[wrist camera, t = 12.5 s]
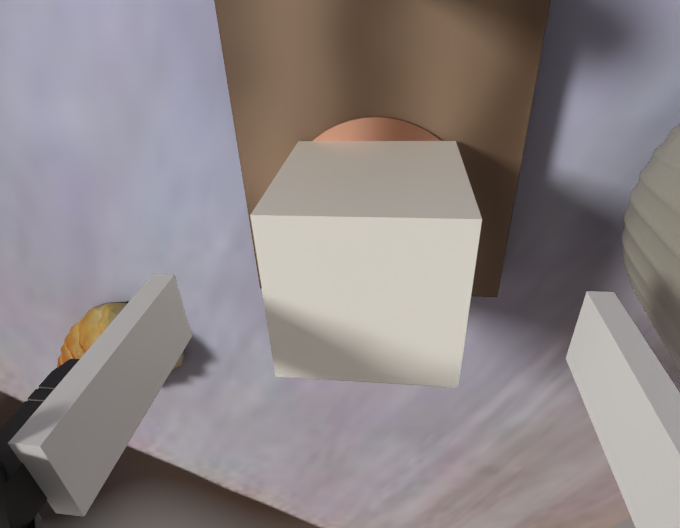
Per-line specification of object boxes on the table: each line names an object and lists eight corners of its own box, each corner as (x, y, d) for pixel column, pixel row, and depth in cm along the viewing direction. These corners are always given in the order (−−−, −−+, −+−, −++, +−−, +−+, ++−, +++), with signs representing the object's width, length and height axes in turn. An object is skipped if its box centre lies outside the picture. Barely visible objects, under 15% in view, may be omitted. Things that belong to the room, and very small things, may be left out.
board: (580, -263, 15) (821, -595, 6) (490, 276, 26) (534, 419, 17) (198, -224, 16) (-23, -446, 8) (269, 269, 27) (209, 397, 19)
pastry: (119, 395, 36) (91, 435, 32) (48, 339, 33) (9, 377, 30) (197, 348, 32) (173, 388, 29) (122, 281, 30) (88, 318, 26)
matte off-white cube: (298, 141, 20) (250, 215, 14) (455, 140, 20) (482, 219, 13) (309, 270, 24) (275, 376, 18) (442, 274, 23) (458, 387, 17)
